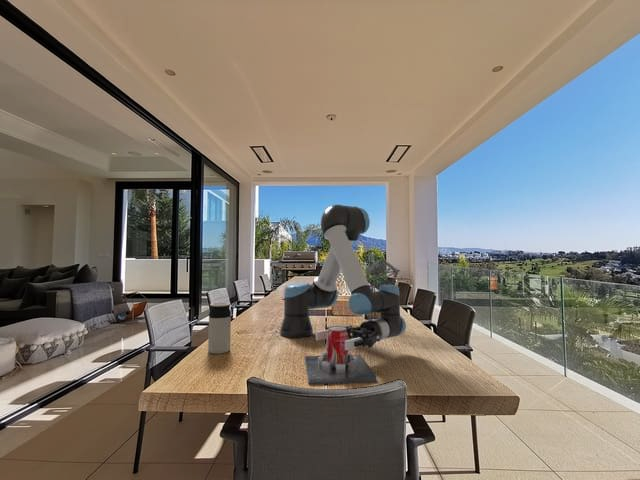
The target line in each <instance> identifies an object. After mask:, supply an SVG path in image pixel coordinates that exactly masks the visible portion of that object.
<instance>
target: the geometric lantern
mask: <svg viewBox="0 0 640 480" xmlns="http://www.w3.org/2000/svg"><path fill="white" fill-rule="evenodd" d="M378 264H379V265H378ZM384 264H385V265H384ZM377 266H378V267H377ZM385 266H387V267H388V268H386V267H385ZM376 267H377V269H376ZM363 270H364V273H365V276H366V278H368V279H367V280H368V281H369V286H370V287H371V290H372V292H375V291H376V289H379V287H380V286H381V285H396V281H395V280H396V279H397V276H398V274H399V273H400V272H401V270H400V269H399V268H396V267H395V266H394V265H392V264H391V263H389V262H388V261H386V260H385V259H381V258H380V259H377V260H376V261H374V262H373V263H371V264H370V265H369V266H367V267H366V268H364V269H363ZM390 270H392V271H390ZM370 273H371V274H372V275H374V276H375V278H374V280H373V281H372V282H371V278H370ZM387 274H388V275H387ZM392 275H393V278H392V279H391V282H390V280H389V279H388V278H389V277H390V276H392ZM377 278H378V281H377V282H375V281H376V279H377ZM381 279H382V280H383V279H385V281H386V282H387V283H379V282H380V280H381ZM393 282H394V283H393ZM374 283H375V284H374ZM372 315H373V313H371V318H370V314H369V317H368V319H367V320H368V321H369V320H373V319H372V318H375V319H376V318H380V317H376V312H375V317H372Z"/></svg>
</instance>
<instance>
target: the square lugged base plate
mask: <svg viewBox="0 0 640 480" xmlns="http://www.w3.org/2000/svg"><path fill="white" fill-rule="evenodd" d="M304 364H305V371H306V377H307V384H308V385H322V384H323V385H325V384H326V385H327V384H330V385H331V384H351V383H353V384H355V383H356V384H357V383H377V376H376V374H375V373H374V371H373V369H371V367H370V365H369V364H368V363H367V362H366V360H365V359H364V357H363V356H362V355H361V354H353V353H350V352H348V364H347V365H346V366H345V363H336V368H332V363H331V362H327V359H326V352H324V353H321V354H319V355H304Z"/></svg>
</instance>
